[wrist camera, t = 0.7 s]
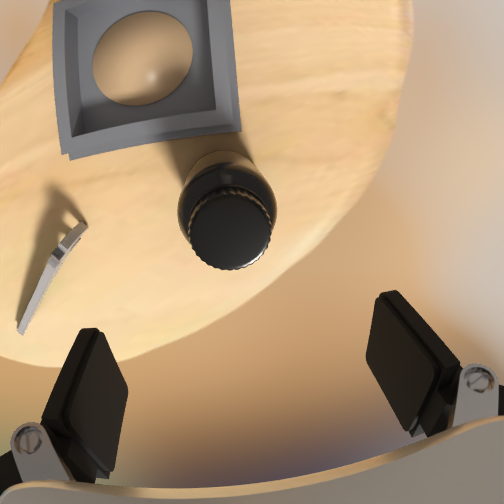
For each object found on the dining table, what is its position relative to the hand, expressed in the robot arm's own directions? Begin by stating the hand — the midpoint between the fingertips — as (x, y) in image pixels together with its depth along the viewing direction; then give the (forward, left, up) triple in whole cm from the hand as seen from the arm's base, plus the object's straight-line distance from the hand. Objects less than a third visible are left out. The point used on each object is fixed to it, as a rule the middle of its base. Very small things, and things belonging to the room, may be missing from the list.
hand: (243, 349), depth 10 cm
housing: (-14, -6, -21) cm, 26 cm away
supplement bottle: (-1, 0, -21) cm, 21 cm away
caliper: (+7, -22, -21) cm, 31 cm away
